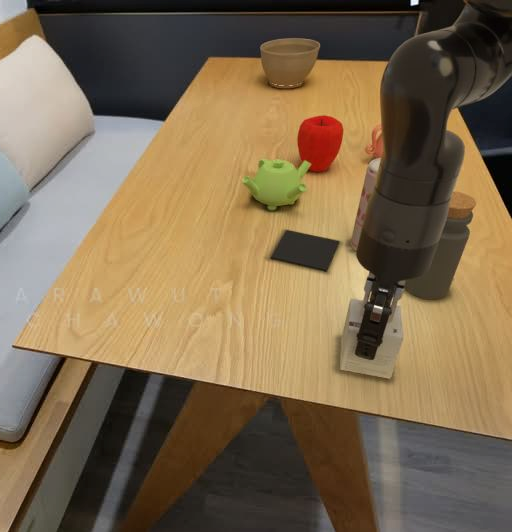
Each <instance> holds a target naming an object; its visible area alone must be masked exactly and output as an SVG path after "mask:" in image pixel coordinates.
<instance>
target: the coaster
mask: <svg viewBox="0 0 512 532" xmlns="http://www.w3.org/2000/svg"><path fill="white" fill-rule="evenodd" d="M339 245H340V240H338V239H332V238H327V237H323V236H318V235H314V234H308V233H303V232H299V231H296V230H295V231H294V230H289V229H285V232H284V233H283V234H282V237H281V238H280V240H279V241H278V243H277V245H276V246H275V249H274V250H273V252H272V253H271V256H270V259H271V260H275V261H279V262H283V263H287V264H292V265H295V266H300V267H304V268H309V269H312V270H317V271H321V272H325V273H327V272H328V270H329V267H330V265H331V263H332V260H333V258H334V256H335V253H336V252H337V250H338V248H339V247H338V246H339Z"/></svg>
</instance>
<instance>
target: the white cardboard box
mask: <svg viewBox="0 0 512 532" xmlns="http://www.w3.org/2000/svg"><path fill="white" fill-rule="evenodd" d="M368 301H369V302H370V300H368ZM362 303H363V300H362V299H357V298H350V299H349V302H348V306H347V311H346V317H345V321H344V325H343V329H342V334H341V338H340V339H341V341H340V358H339V370H341V371H346V372H352V373H356V374H357V373H358V374H362V375H367V376H372V377H378V378H384V379H387V380H390V379H392V376H393V373H394V370H395V366H396V363H397V360H398V357H399V354H400V351H401V348H402V345H403V341H404V328H403V327H404V326H403V317H402V316H403V315H402V306H401V305H397V306H396V309H395V313H394V316H393V320H392V321H391V322H390V323H387V325H386V328H385V331H384V338H382V340H383V342H382V344H380V347H378V349H377V352H376V355H375V358H374V360H368V359H364V358H361V357H358V356H356V355H355V350H356V347H357V343H358V341H357V337H356V336H357V333H359V331H358V330H359V327H360V326H361V322H362V318H363V316H362V315H361V314H360V310H361V306H362ZM389 307H391V304H390V306H389Z"/></svg>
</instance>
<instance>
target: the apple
mask: <svg viewBox="0 0 512 532" xmlns="http://www.w3.org/2000/svg"><path fill="white" fill-rule="evenodd" d="M344 130H345V129H344V125H343V123H342V122H341V121H339V120H338V119H337V118H335V117H333V116H332V115H331V116H330V115H325V114H323V115H315V116H312V117H308V118H306V119H304V120H302V122H301V123H300V125H299V129H298V131H297V139H296V140H297V141H296V142H297V148H298V149H297V150H298V155H299V158H300V162H301V164H302V163H303V162H304V160H305V161H307V162H309V163H311V166H310V167H309V169H308V171H311V172H314V173H317V172H318V173H321V172H324V171H326V170H328V169H329V167H330V166H331V165H332V164H333V163H334V161H335V160H336V158H337V157H338V154H339V152H340V150H341V146H342V143H343V138H344Z"/></svg>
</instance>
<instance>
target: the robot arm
mask: <svg viewBox="0 0 512 532" xmlns="http://www.w3.org/2000/svg"><path fill="white" fill-rule="evenodd" d="M462 1H463V2H464V4H465V5H464V8H463V10H462V11H461V13H460V15H459V17H458V18H457V19H456V21H455V22H453V24H452V25H451V26H448V27H445V28H441V29H436V30H432V31H429V32H424V33H420V34H419V35H418V34H417V35H415V36H413V37H410V38H409V39H407V40H405V41H404V42H403V43H402V44H400V46H398V47H397V49H395V51H394V52H393V53H392V55H390V58H389V59H388V62H387V64H386V66H385V68H384V70H383V73H382V76H381V80H380V86H379V107H380V108H379V109H380V124H381V128H382V129H381V133H382V139H383V153H382V157H381V160H380V164H379V169H378V173H377V177H376V181H375V185H374V189H373V191H372V194H371V196H370V199H369V201H368V204H367V208H366V213H365V217H364V221H363V225H362V230H361V234H360V238H359V243H358V247H357V251H355V255H356V259H357V261H358V263H359V264H360V266H361V267H362V268H363V269H365V270H366V271H368V276H367V277H366V280H365V283H364V287H363V291H364V296H363V298H362V299H363V303H362V306H361V310H360V314H361V315H362V316H363V318H362V322H361V326H360V327H359V330H358V331H359V333H357V336H356V337H357V341H358V343H357V347H356V350H355V355H356V356H358V357H361V358H364V359H368V360H374V358H375V355H376V352H377V349H378V347H380V344H382V342H383V340H382V338H384V331H385V328H386V325H387V323H390V322H391V321H392V320H393V316H394V313H395V309H396V306H398V302H399V301H400V300H401V299H402V298H403V294H404V290H405V289H406V288H405V285H404V284H405V282H406V280H411V279H416V278H419V277H421V276H423V275H424V274H425V273H427V272H428V270H429V269H430V266H431V263H432V260H433V257H434V254H435V252H436V249H437V246H438V243H439V240H440V237H441V234H442V231H443V228H444V225H445V222H446V219H447V216H448V211H449V205H450V200H451V196H452V193H453V192H454V190H455V187H456V184H457V181H458V179H459V176H460V172H461V170H462V166H463V163H464V160H465V154H466V147H465V143H464V141H463V139H462V138H461V137H460V136H459V135H458V134H456V133H455V132H453V131H451V130H449V129H447V126H448V122H449V121H448V120H449V117H450V115H451V112H452V111H453V110H456V109H459V108H462V107H464V106H468V105H471V104H474V103H479V102H480V101H482V100H484V99H486V98H488V97H489V96H491V95H493V94H494V93H495V92H496V91H497V90H498V89H500V88H501V87H502V86H503V85H504V84H505V83H506V82H507V81H508V80H509V79H510V78H511V76H512V0H462ZM369 301H370V302H369ZM390 305H391V307H389V306H390Z"/></svg>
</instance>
